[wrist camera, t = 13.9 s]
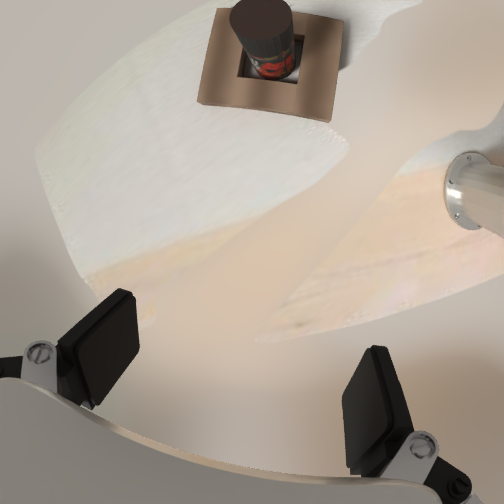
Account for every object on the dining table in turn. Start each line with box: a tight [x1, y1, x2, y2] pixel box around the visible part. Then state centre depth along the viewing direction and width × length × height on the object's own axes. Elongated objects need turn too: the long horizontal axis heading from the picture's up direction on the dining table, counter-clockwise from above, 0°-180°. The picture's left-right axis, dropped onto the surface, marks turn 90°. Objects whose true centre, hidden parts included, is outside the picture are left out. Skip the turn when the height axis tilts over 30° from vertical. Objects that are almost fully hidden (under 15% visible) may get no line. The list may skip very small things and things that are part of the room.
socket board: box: [197, 8, 344, 122], centre depth 31 cm, size 18×16×3 cm
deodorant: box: [229, 0, 295, 80], centre depth 25 cm, size 6×6×15 cm
